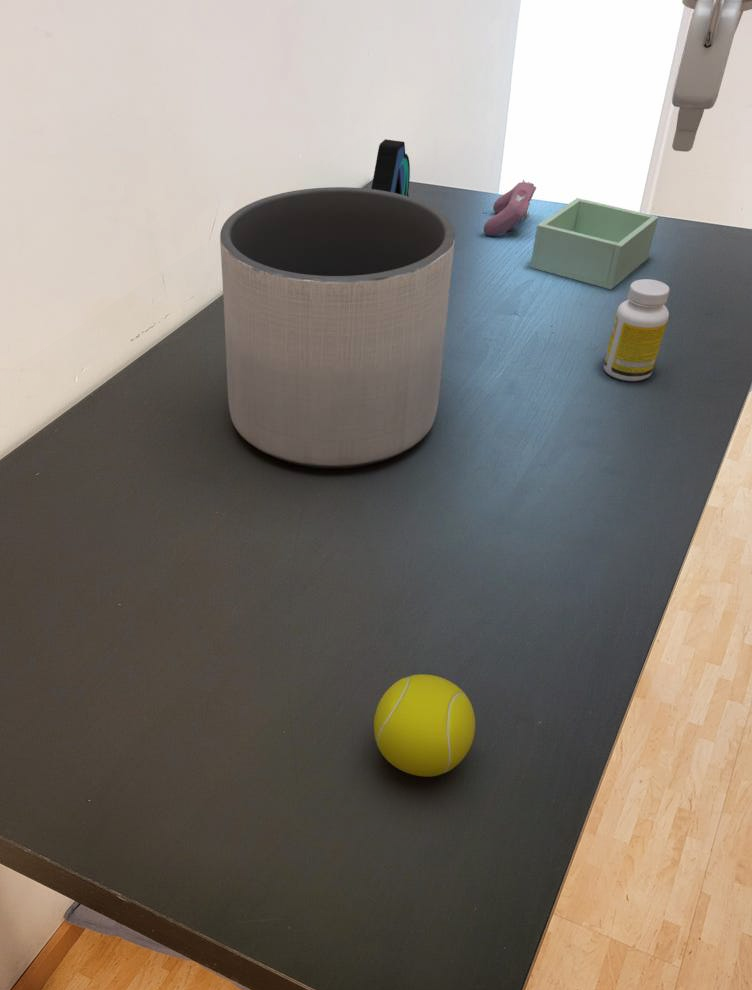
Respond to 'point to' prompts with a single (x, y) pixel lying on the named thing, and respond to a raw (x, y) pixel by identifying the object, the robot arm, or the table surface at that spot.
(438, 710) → the tennis ball
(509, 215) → the mauve lumpy piece
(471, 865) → the table surface
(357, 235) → the planter
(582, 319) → the table surface
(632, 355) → the supplement bottle
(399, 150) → the decorative sign
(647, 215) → the bin
